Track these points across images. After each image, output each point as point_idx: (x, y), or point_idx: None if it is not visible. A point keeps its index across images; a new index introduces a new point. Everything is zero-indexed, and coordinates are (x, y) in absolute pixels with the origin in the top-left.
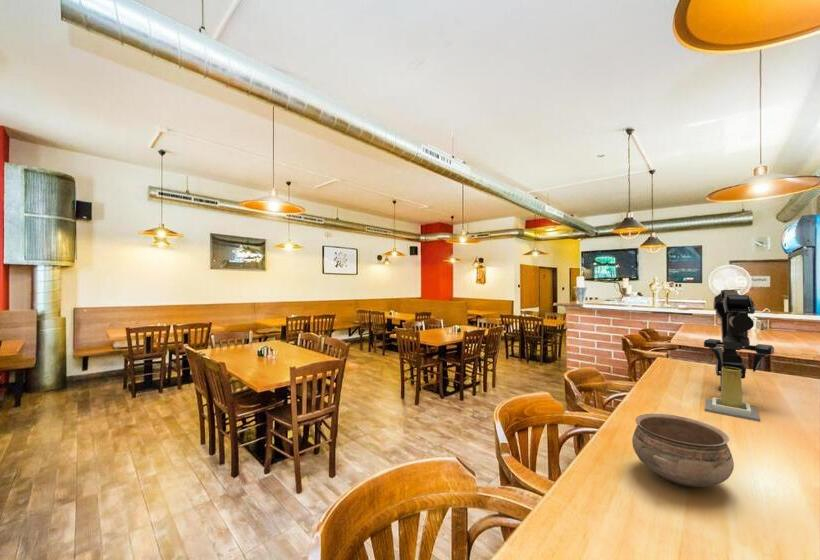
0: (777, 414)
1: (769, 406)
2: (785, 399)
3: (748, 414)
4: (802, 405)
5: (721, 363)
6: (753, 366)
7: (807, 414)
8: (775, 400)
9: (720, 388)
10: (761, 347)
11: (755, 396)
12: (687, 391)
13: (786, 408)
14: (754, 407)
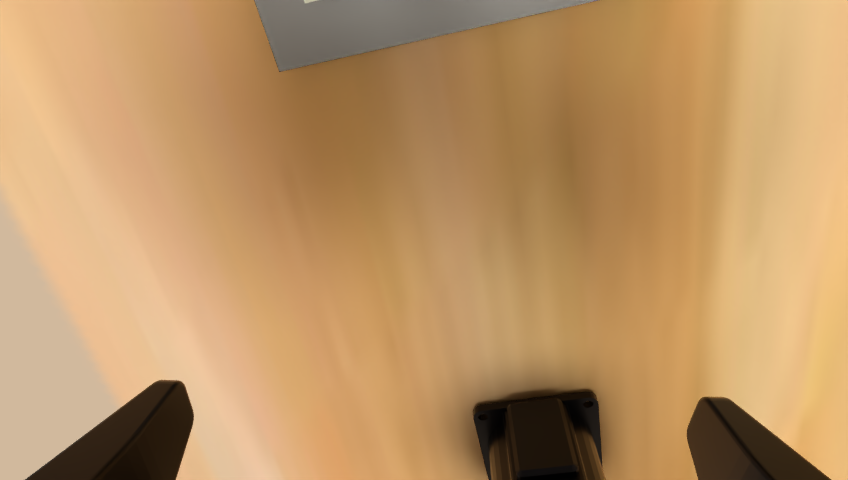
0: (141, 51)
1: (264, 249)
2: (268, 465)
3: None
4: None
5: (749, 450)
6: (100, 467)
7: (58, 241)
8: (293, 413)
9: (591, 425)
10: None
11: (394, 417)
12: (833, 195)
13: (186, 285)
14: (288, 43)
